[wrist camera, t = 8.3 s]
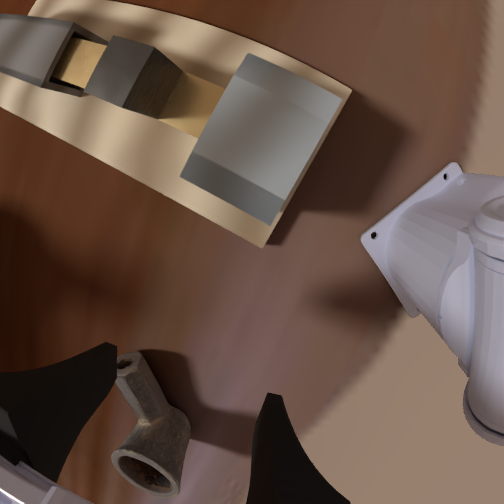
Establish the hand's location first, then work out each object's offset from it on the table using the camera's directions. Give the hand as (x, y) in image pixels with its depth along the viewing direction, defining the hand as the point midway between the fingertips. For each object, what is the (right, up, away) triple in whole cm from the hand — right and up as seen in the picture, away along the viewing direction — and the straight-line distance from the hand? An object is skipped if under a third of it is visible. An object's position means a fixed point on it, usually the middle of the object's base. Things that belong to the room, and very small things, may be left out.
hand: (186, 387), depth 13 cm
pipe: (-6, -8, +14) cm, 17 cm away
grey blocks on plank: (-7, +19, +6) cm, 21 cm away
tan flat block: (-5, +17, +5) cm, 18 cm away
